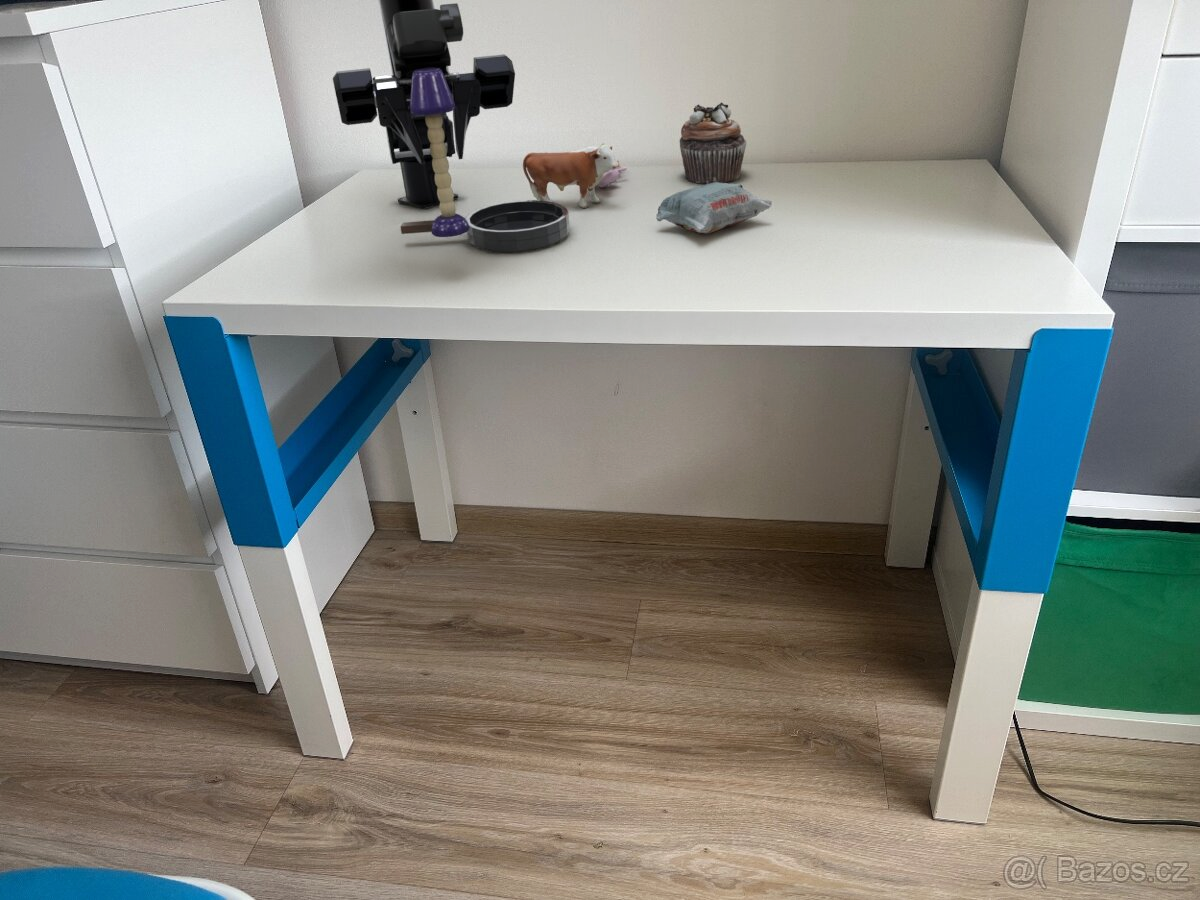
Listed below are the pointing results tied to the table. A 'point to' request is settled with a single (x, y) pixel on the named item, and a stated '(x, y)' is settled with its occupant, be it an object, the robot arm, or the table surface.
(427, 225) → the pan handle
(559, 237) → the pan
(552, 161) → the bull figurine
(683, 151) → the cupcake
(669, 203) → the packaged food
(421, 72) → the toy lamp
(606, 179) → the rabbit figure
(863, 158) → the table surface
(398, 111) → the robot arm
